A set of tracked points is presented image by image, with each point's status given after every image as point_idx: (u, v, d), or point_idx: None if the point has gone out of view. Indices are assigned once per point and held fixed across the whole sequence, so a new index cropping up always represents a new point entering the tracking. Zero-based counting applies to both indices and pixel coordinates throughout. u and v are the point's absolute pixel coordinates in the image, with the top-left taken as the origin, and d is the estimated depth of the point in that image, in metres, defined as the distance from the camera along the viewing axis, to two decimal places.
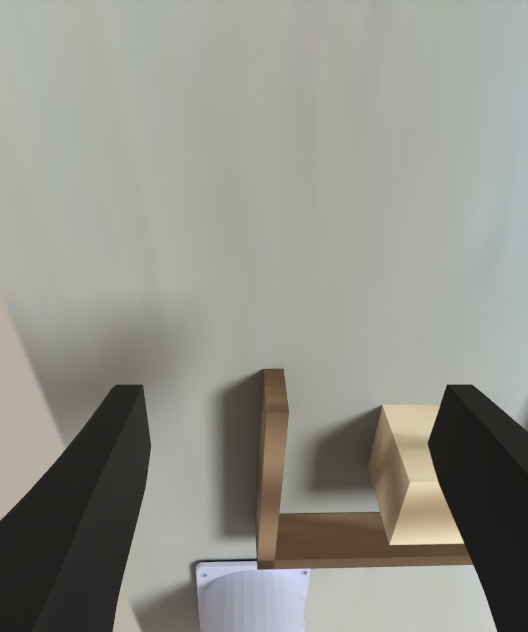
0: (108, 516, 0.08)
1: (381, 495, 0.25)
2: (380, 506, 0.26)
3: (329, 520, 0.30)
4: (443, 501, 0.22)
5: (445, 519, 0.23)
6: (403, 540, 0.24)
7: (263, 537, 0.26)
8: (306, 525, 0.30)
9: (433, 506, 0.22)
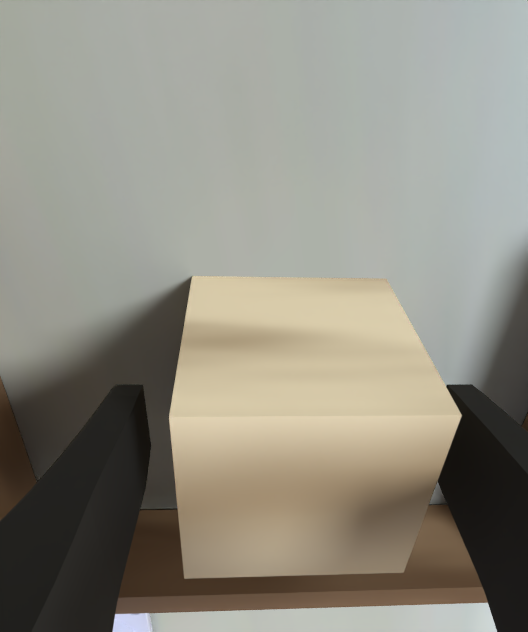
0: (108, 516, 0.08)
1: None
2: None
3: (148, 522, 0.17)
4: (279, 473, 0.09)
5: (300, 520, 0.10)
6: (213, 568, 0.10)
7: None
8: None
9: (256, 485, 0.09)
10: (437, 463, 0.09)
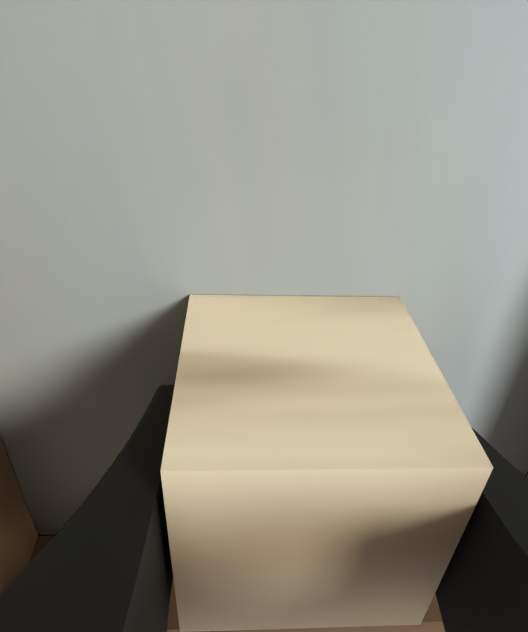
0: None
1: None
2: None
3: None
4: (285, 527, 0.08)
5: (307, 574, 0.09)
6: (211, 621, 0.09)
7: None
8: None
9: (259, 540, 0.08)
10: (462, 517, 0.08)
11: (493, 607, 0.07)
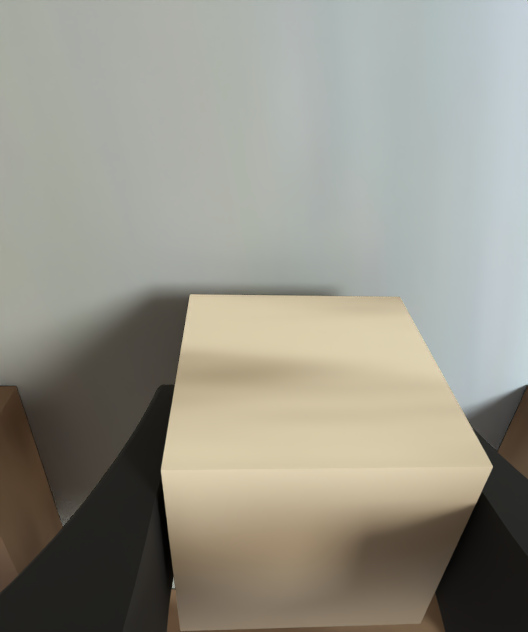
0: None
1: None
2: None
3: None
4: (285, 526, 0.08)
5: (307, 573, 0.09)
6: (211, 621, 0.09)
7: None
8: None
9: (259, 538, 0.08)
10: (462, 516, 0.08)
11: (493, 607, 0.07)
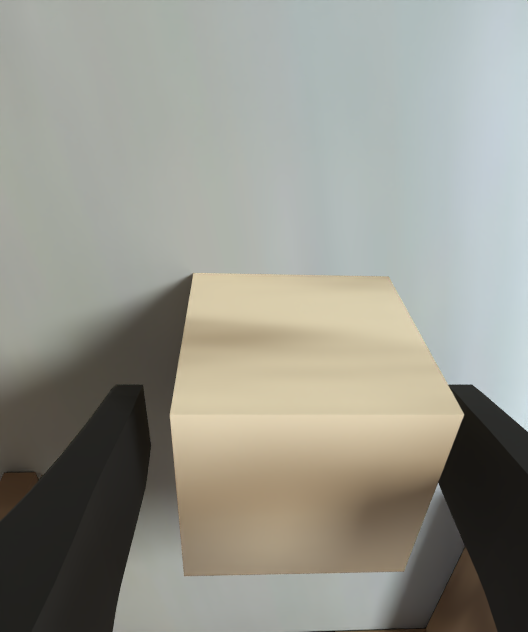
0: (108, 516, 0.08)
1: None
2: None
3: None
4: (280, 471, 0.09)
5: (300, 518, 0.10)
6: (213, 566, 0.10)
7: None
8: None
9: (256, 483, 0.09)
10: (438, 463, 0.09)
11: None
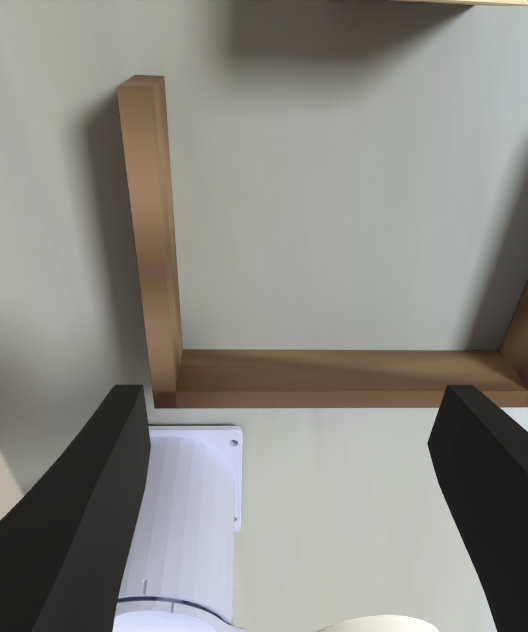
0: (108, 516, 0.08)
1: None
2: None
3: (257, 356, 0.23)
4: None
5: None
6: None
7: (153, 348, 0.19)
8: (226, 360, 0.23)
9: None
10: None
11: None
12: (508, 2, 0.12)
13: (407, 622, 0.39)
